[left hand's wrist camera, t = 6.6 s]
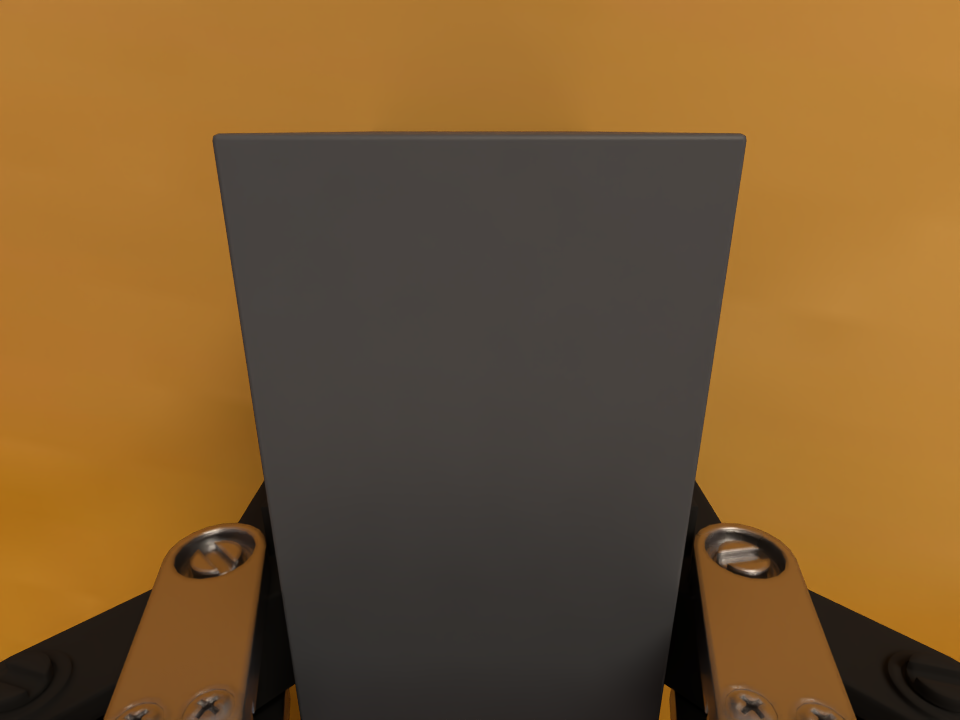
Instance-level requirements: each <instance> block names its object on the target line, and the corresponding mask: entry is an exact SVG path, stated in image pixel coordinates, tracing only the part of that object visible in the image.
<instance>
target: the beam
mask: <svg viewBox="0 0 960 720" xmlns="http://www.w3.org/2000/svg"><path fill="white" fill-rule="evenodd" d="M213 147H214V153H215V160H216V166H217V173H218V180H219V186H220V193H221V199H222V206H223V212H224V219H225V225H226V232H227V239H228V245H229V252H230V258H231V265H232V271H233V278H234V284H235V291H236V298H237V304H238V311H239V317H240V324H241V330H242V337H243V343H244V350H245V357H246V363H247V370H248V376H249V383H250V389H251V396H252V403H253V409H254V416H255V422H256V429H257V435H258V442H259V448H260V455H261V462H262V468H263V475H264V481H265V488H266V494H267V501H268V507H269V514H270V521H271V527H272V534H273V540H274V547H275V553H276V560H277V566H278V573H279V580H280V586H281V593H282V599H283V606H284V612H285V619H286V625H287V632H288V639H289V645H290V652H291V658H292V665H293V671H294V678H295V684H296V691H297V698H298V704H299V711H300V717H301V720H659V714H660V707H661V700H662V694H663V687H664V681H665V674H666V667H667V661H668V654H669V648H670V641H671V634H672V628H673V621H674V615H675V608H676V601H677V595H678V588H679V582H680V575H681V569H682V562H683V555H684V549H685V542H686V536H687V529H688V522H689V516H690V509H691V503H692V496H693V489H694V483H695V476H696V470H697V463H698V457H699V450H700V443H701V437H702V430H703V424H704V417H705V410H706V404H707V397H708V391H709V384H710V377H711V371H712V364H713V358H714V351H715V344H716V338H717V331H718V325H719V318H720V312H721V305H722V298H723V292H724V285H725V279H726V272H727V265H728V259H729V252H730V246H731V239H732V232H733V226H734V219H735V213H736V206H737V199H738V193H739V186H740V180H741V173H742V167H743V160H744V153H745V147H746V136H745V135H743V134H736V133H655V132H307V133H227V134H216V135H214V136H213Z"/></svg>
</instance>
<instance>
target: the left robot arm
mask: <svg viewBox="0 0 960 720" xmlns="http://www.w3.org/2000/svg"><path fill="white" fill-rule="evenodd" d="M294 684H295V678H294V671H293V665H292V658H291V652H290V645H289V639H288V632H287V625H286V619H285V612H284V606H283V599H282V593H281V586H280V580H279V573H278V566H277V560H276V553H275V547H274V540H273V534H272V527H271V521H270V514H269V507H268V501H267V494H266V488H265V481H264V482H263V483H262V485H261V487H260V488H259V490H258V491H257V493H256V495H255V496H254V498H253V500H252V501H251V503H250V504H249V506H248V508H247V509H246V511H245V513H244V514H243V516H242V517H241V519H240V521H239V522H238V523H226V524H219V525H215V526H210V527H207V528H204V529H201V530H199V531H196V532H194V533H192V534H190V535H189V536H187V537H185V538H183V539H182V540H180V541H179V542H178V543H177V544H176V545H175V546H173V547H172V548H171V549H170V550H169V552H168V553H167V555H166V557H165V558H164V560H163V562H162V565H161V568H160V570H159V573H158V576H157V578H156V581H155V584H154V586H153V589H151V590H149V591H147V592H145V593H143V594H141V595H139V596H137V597H135V598H133V599H131V600H128V601H126V602H124V603H122V604H120V605H118V606H116V607H114V608H112V609H110V610H107V611H105V612H103V613H101V614H99V615H97V616H95V617H93V618H91V619H89V620H86V621H84V622H82V623H80V624H78V625H76V626H74V627H72V628H70V629H68V630H65V631H63V632H61V633H59V634H57V635H55V636H53V637H51V638H49V639H47V640H44V641H42V642H40V643H38V644H36V645H34V646H32V647H30V648H28V649H26V650H24V651H21V652H19V653H17V654H15V655H13V656H11V657H9V658H7V659H5V660H4V661H2V662H0V720H289V716H290V700H291V699H290V692H289V688H290V687H291V686H293V685H294ZM664 684H665V685H667V686H668V687H670V688H671V692H670V699H669V700H670V716H671V720H960V663H959V662H958V661H956V660H954V659H952V658H951V657H949V656H947V655H945V654H942V653H940V652H938V651H936V650H934V649H932V648H930V647H928V646H926V645H924V644H921V643H919V642H917V641H915V640H913V639H911V638H909V637H907V636H905V635H903V634H900V633H898V632H896V631H894V630H892V629H890V628H888V627H886V626H884V625H882V624H879V623H877V622H875V621H873V620H871V619H869V618H867V617H865V616H863V615H861V614H858V613H856V612H854V611H852V610H850V609H848V608H846V607H844V606H842V605H840V604H837V603H835V602H833V601H831V600H829V599H827V598H825V597H823V596H821V595H819V594H816V593H814V592H812V591H810V590H808V589H807V586H806V584H805V581H804V578H803V576H802V573H801V570H800V568H799V565H798V562H797V560H796V558H795V557H794V555H793V553H792V552H791V550H790V549H789V548H788V547H787V546H785V545H784V544H783V543H782V542H781V541H780V540H778V539H777V538H775V537H773V536H771V535H770V534H768V533H766V532H764V531H761V530H759V529H756V528H753V527H750V526H745V525H741V524H734V523H721V522H720V520H719V518H718V517H717V515H716V513H715V512H714V510H713V509H712V507H711V505H710V504H709V502H708V500H707V499H706V497H705V495H704V494H703V492H702V491H701V489H700V487H699V486H698V484H697V482H696V481H695V483H694V489H693V496H692V503H691V509H690V516H689V522H688V529H687V536H686V542H685V549H684V555H683V562H682V569H681V575H680V582H679V588H678V595H677V601H676V608H675V615H674V621H673V628H672V634H671V641H670V648H669V654H668V661H667V667H666V674H665V681H664Z"/></svg>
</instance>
